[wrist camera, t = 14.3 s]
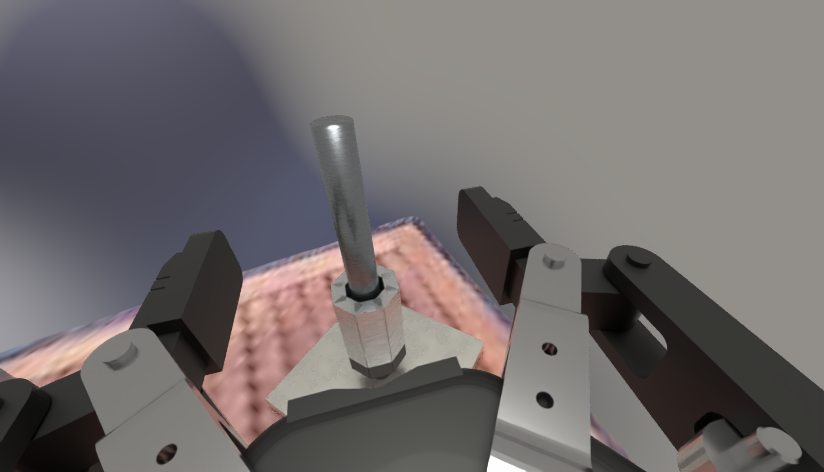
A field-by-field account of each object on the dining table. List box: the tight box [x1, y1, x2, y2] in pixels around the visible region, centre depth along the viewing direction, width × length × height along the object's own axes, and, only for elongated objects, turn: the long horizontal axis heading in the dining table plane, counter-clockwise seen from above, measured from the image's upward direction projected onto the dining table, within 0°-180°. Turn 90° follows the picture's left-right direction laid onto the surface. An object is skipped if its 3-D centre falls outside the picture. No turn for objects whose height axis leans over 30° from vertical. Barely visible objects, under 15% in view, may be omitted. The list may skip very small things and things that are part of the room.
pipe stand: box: [265, 115, 484, 417], centre depth 29 cm, size 18×18×30 cm
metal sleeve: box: [331, 264, 405, 368], centre depth 31 cm, size 6×6×8 cm
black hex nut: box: [349, 344, 406, 379], centre depth 34 cm, size 6×6×2 cm
